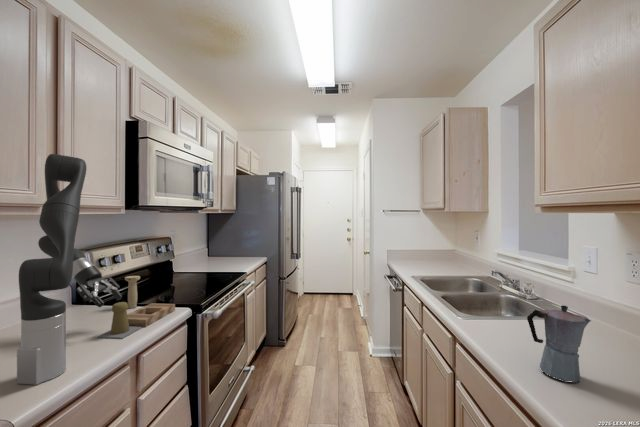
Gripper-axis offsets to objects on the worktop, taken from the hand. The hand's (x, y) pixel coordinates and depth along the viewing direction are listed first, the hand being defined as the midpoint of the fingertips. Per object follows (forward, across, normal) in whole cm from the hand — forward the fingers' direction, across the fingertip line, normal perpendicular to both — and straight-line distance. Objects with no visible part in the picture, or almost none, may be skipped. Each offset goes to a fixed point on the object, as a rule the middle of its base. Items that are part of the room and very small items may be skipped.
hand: (111, 302), depth 111 cm
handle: (-1, +28, +18) cm, 33 cm away
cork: (+10, 0, +6) cm, 12 cm away
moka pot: (+115, -15, -98) cm, 152 cm away
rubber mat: (+11, 0, +6) cm, 12 cm away
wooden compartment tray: (+11, +16, +6) cm, 20 cm away
